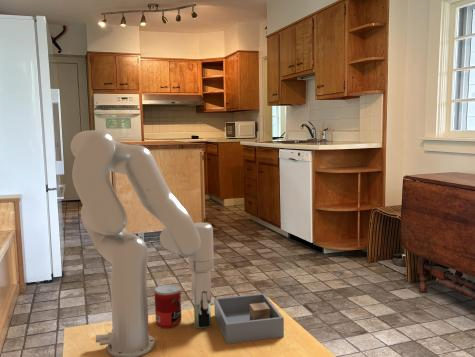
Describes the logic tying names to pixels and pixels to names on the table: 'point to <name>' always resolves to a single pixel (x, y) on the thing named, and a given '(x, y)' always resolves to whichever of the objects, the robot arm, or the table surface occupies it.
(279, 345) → the table surface
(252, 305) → the cube
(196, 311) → the cylinder
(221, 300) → the tote
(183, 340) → the table surface
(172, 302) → the canned food
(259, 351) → the table surface
